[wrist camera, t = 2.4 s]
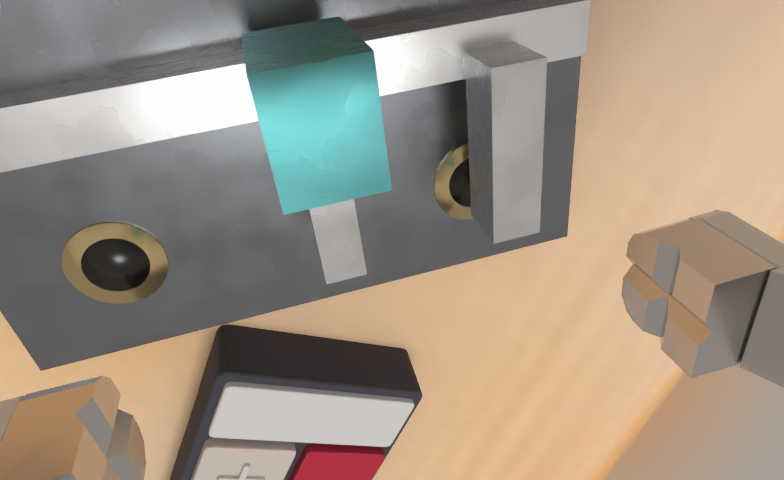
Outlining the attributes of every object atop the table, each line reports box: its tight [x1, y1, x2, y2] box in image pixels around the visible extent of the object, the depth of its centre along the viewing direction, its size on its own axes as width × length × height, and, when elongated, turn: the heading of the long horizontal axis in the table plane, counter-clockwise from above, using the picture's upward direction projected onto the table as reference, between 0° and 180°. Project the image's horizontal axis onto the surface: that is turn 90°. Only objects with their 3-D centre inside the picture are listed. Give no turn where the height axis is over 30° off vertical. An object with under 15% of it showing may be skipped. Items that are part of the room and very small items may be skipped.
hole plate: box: [0, 0, 591, 371], centre depth 21 cm, size 26×16×6 cm, turn 97°
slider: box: [241, 16, 392, 284], centre depth 19 cm, size 3×9×7 cm, turn 7°
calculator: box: [170, 325, 422, 480], centre depth 32 cm, size 11×4×15 cm
